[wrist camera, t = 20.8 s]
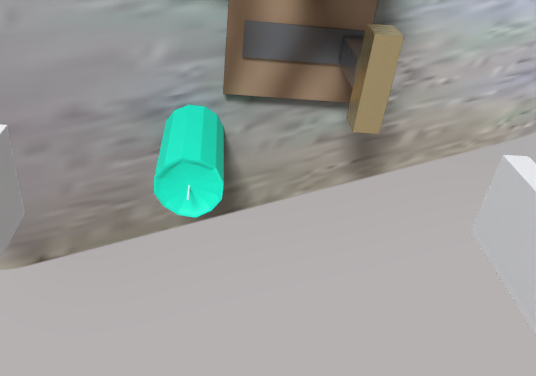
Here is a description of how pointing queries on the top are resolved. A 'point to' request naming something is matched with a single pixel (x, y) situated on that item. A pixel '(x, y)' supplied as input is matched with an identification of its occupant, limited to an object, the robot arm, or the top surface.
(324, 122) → the top surface
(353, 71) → the t key
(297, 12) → the board
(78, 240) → the top surface
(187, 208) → the candle
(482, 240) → the robot arm
